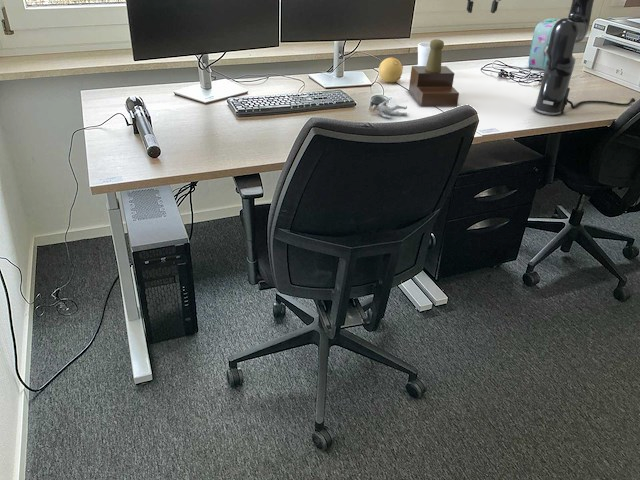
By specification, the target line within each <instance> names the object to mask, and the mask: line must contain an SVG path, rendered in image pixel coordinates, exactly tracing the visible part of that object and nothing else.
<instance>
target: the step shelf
mask: <svg viewBox="0 0 640 480" xmlns="http://www.w3.org/2000/svg"><path fill="white" fill-rule="evenodd" d="M425 68H426V66H418V65H411V69H410V70H411V71H410V78H409V87H408V92H409V93H410V95H411V96H412V97H413V99H414V100H415V101H416V102H417V104H418V105H419V106H420V107H457V106H458V102H459V96H460V92H459V91H458V90H457V89H456V88H454V87H453V85H454V79H455V72H454V71H452V70H451V68H449V67H448V66H447V65H441V71H439V72H431V71H427V70H426V69H425Z"/></svg>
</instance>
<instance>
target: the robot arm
mask: <svg viewBox="0 0 640 480" xmlns="http://www.w3.org/2000/svg"><path fill="white" fill-rule="evenodd" d="M500 1H501V0H492V2H491V8H490V13H491V14H495V13H496V12H497V11H498V6H499V2H500ZM594 1H595V0H572V1H571V5H570V9H569V12H568V15H567V16H566V17H563V18H559V19H560V20H558V21H557V22H556V23H555V25H554V27H553V29H552V32H551V36H550V41H549V45H548V50H547V57H548V60H547V64H546V68H545V70H544V72H543V76H542V79H541V84H540V88H539V91H538V96H537V99H536V102H535V105H534V111H535V112H536V113H539V114H542V115H547V116H558V115H562V114H564V111H565V108H566V106H567V105H568V104H570V107H571V108H572V109H577V108H578V107H579V106H581V105H582V104H591V103H592V104H608V105H613V106H621V107H622V106H625V107H626V106H629V105H632V103H633V102H635V101H636V99H635V98H634V97H632V98H631V99H630V101H628V102H625V103H624V102H623V103H621V102H615V101H614V102H613V101H609V100H608V101H607V100H582V101H579V102H577V103H576V104H575V105H574V103H573V101H571V100H569V98H568V97H569V94H570V91H571V88H570V87H569V85H570V82H571V78H572V75H573V72H574V68H575V64H576V60H577V59H576V57H575V56H574V55H573V53H574V49H575V45H577V44H579V43H581V42H582V41H583V40H585V38H586V37H587V35H588V32H589V28H590V24H591V17H592V12H593V8H594ZM473 7H474V0H467V4H466V11H467V13H468V14H472V13H473Z"/></svg>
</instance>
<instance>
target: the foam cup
mask: <svg viewBox="0 0 640 480" xmlns="http://www.w3.org/2000/svg"><path fill="white" fill-rule="evenodd" d="M430 42H431V41H424V42H423V41H422V42H419V43H418V44H417V66H426V65H427V61H428V57H429V53H430V50H431V48H430Z"/></svg>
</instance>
